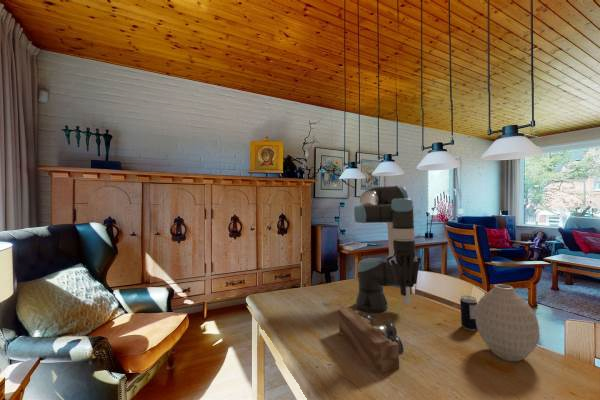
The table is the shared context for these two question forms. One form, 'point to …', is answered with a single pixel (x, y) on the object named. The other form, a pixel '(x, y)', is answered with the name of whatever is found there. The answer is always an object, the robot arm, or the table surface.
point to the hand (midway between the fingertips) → (406, 303)
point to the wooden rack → (369, 341)
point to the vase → (507, 323)
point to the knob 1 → (368, 318)
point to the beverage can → (468, 312)
